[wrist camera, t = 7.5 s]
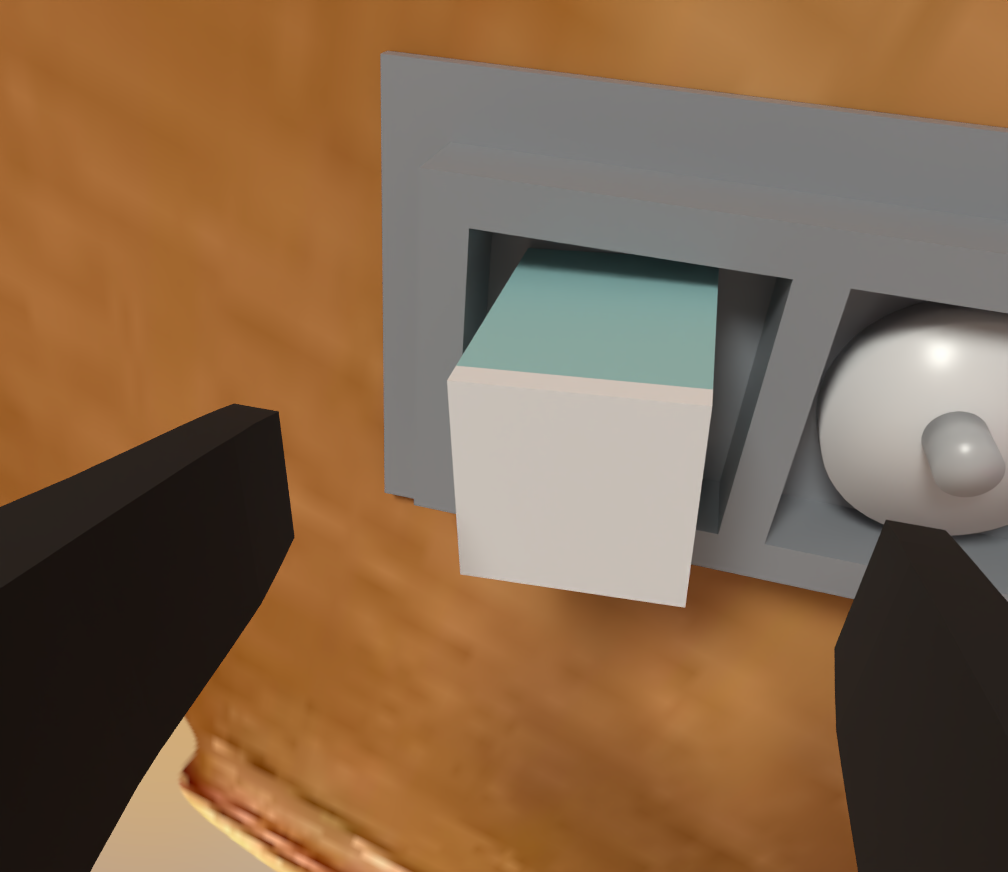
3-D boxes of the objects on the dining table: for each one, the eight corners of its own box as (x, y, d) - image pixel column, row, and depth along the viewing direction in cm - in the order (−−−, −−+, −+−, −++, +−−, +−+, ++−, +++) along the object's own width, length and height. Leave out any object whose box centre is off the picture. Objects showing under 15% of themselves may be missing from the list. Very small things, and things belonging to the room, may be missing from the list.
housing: (1406, 178, 14) (1542, 232, 11) (1091, 632, 20) (1138, 727, 17) (387, 51, 16) (330, 73, 14) (389, 484, 22) (350, 548, 20)
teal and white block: (718, 259, 17) (712, 406, 12) (698, 425, 19) (684, 607, 14) (527, 247, 17) (447, 380, 13) (529, 408, 20) (459, 574, 15)
